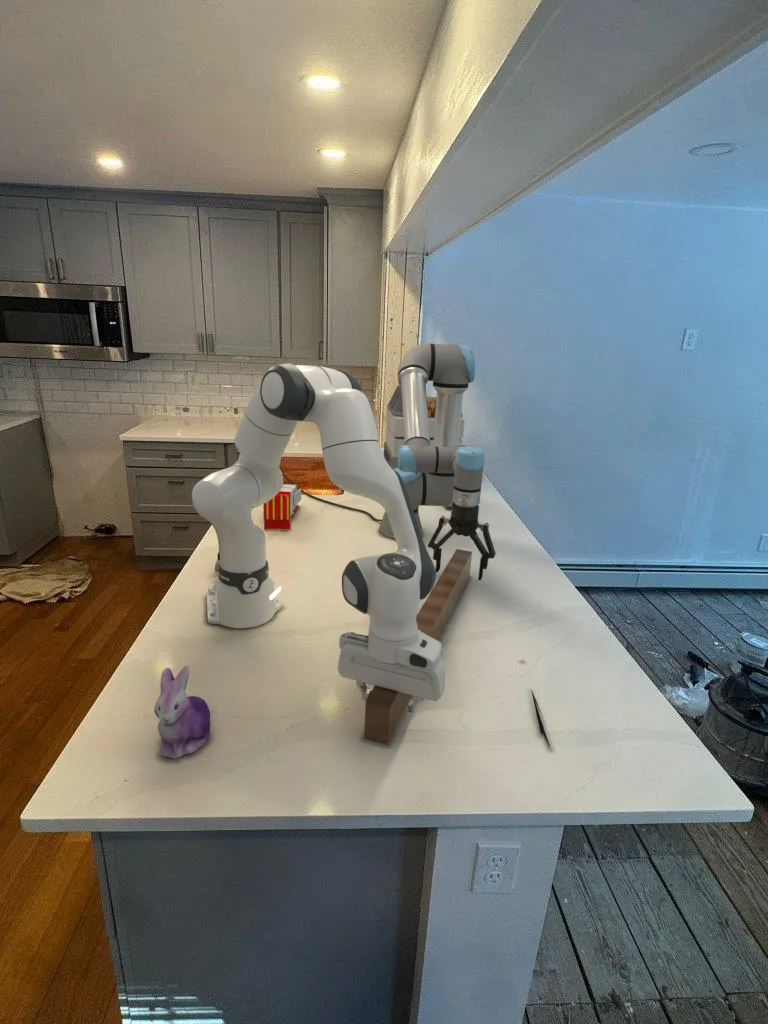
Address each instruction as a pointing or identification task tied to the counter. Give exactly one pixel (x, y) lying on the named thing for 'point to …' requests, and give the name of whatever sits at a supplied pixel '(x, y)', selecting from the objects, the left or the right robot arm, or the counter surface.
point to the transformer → (397, 431)
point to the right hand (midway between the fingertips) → (458, 574)
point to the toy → (281, 508)
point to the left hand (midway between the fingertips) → (388, 704)
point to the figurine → (180, 716)
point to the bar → (431, 620)
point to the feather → (539, 718)
